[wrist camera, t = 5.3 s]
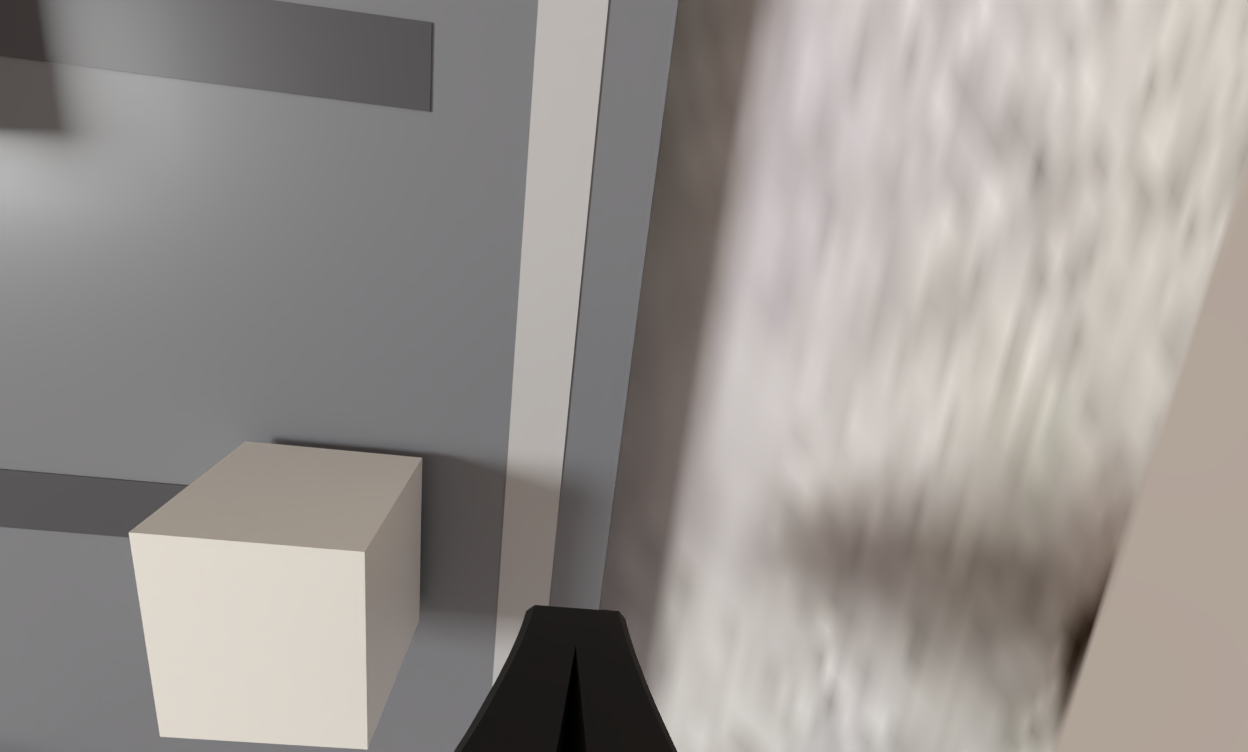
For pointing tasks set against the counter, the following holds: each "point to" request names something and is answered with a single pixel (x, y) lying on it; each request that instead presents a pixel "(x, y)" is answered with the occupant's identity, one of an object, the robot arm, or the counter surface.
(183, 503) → the switch
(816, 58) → the counter surface
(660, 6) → the panel
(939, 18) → the counter surface
